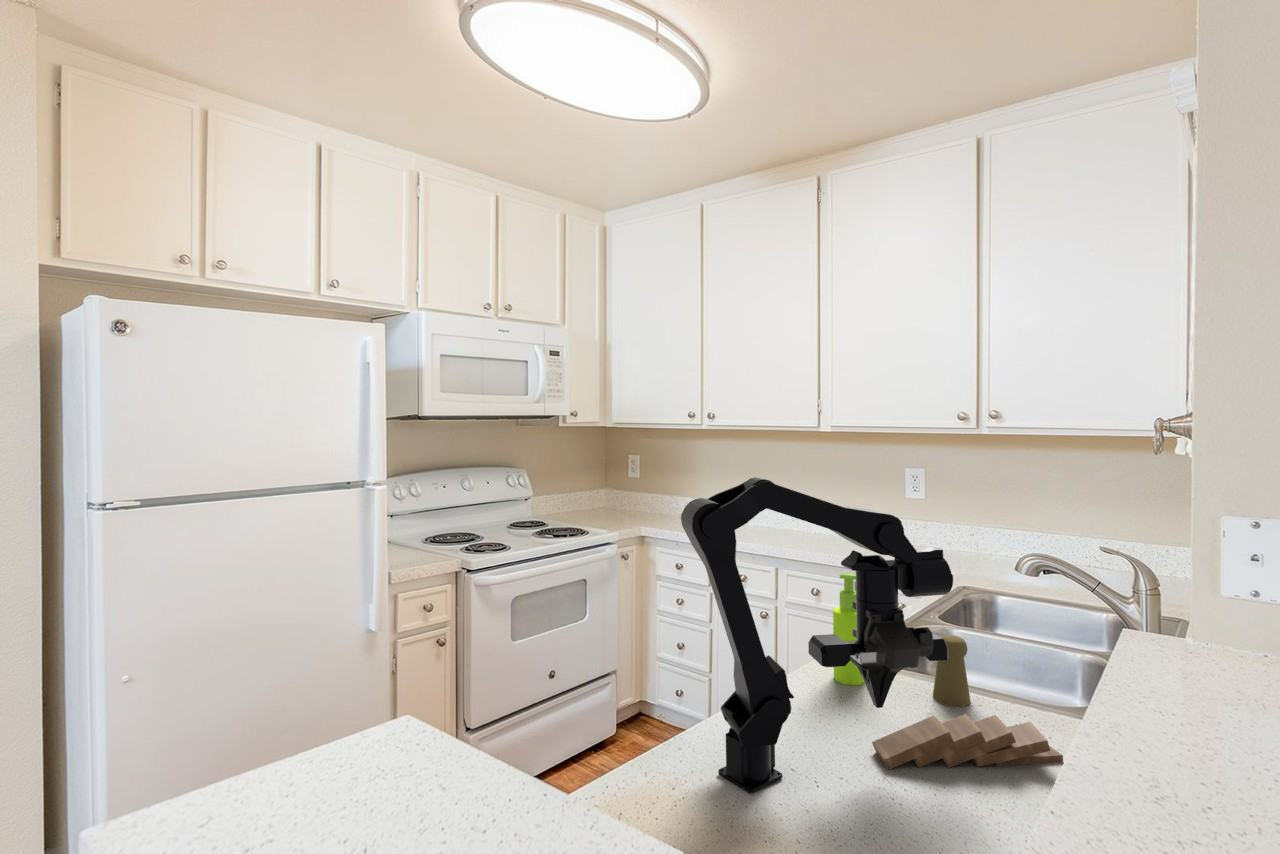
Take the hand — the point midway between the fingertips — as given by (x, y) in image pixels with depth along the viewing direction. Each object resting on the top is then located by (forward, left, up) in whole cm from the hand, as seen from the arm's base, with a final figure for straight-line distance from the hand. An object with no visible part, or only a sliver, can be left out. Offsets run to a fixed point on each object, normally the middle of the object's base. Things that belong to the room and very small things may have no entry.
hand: (878, 706), depth 96 cm
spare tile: (+13, -9, -8) cm, 18 cm away
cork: (+29, +5, -8) cm, 30 cm away
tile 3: (+8, -5, -7) cm, 11 cm away
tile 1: (+1, 0, -7) cm, 7 cm away
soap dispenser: (+23, +21, -8) cm, 32 cm away
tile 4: (+11, -8, -7) cm, 15 cm away
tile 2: (+4, -2, -7) cm, 9 cm away
